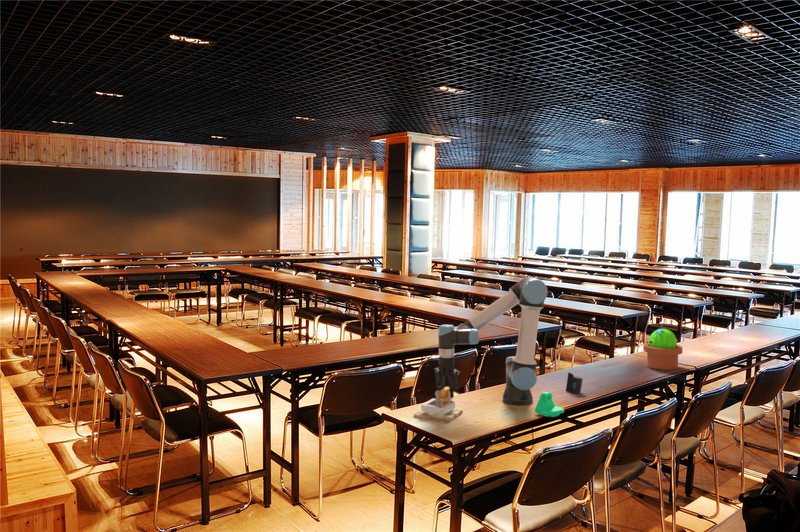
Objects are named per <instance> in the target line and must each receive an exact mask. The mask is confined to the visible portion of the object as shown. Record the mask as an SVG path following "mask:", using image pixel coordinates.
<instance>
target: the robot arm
mask: <svg viewBox="0 0 800 532" xmlns="http://www.w3.org/2000/svg"><path fill="white" fill-rule="evenodd" d="M547 296H548V287H547V285H546V284H545V282H544V281H542V280H541V279H539V278H537V277H533V276H526V277H524V278H522V279H520V280H519V281H518V282H516V283H515V284H514V285H513V286H511V287H510V288H509V290H508V292H506V293H505V294H504V295H502V296H500V297H499V298H498V299H496V300H495V301H493V302H491V304H490V305H488V306H487V307H485V308H484V309H482V310H481V311H480V312H478V313H477V314H475V315H474V316H472V317H471V318H469V319H468V320H466V321H465V322H464V323H460V324H459V325H458V326H457V328H455V325H453V324H446V323H445V324H441V325H439V327H438V356H439V357H438V367H435V368H433V372H434V377H435V387H436V389H438V390H439V391H441V389H443V388H445V384H446V383H445V382H446V378H447V381H448V387H449V388H450V391H449V392H448V398H449V401H453V398H454V395H455V392H456V390H458V387H459V375H460V373H461V371H460V370H457V368H455V367H456V366H455V357H454V356H455V345H478V344H479V343H480V340H479V339H480V334H479V331H481V330H482V329H484V328H485V327H486V326H488V325H489V324H491V323H492V322H495V320H497V319H498V318H499V317H501V316H503V315H504V314H505V313H506V312H509V310H511V309H512V308H514V307H516V306H517V305H519V306H520V307H521V310H520V311H521V314H520V322H519V328H518V329H519V330H518V337H517V345H516V346H517V347H516V354H515V356H513V355H512V356H508V357H506V359H505V389H504V392H503V394H502V402H503V401H504V402H503V403H506V404H507V403H508V404H507V405H514V406H528V405H530V404H532V403H533V401H534V399H533V394H532V391H531V390H532V388H534V387H535V385H536V384H537V380H538V376H537V373H536V371H537V361H536V359H535V355H536V354H535V352H536V344H537V337H538V336H537V335H538V329H539V318H540V312H541V310H542V309H544V305H545V300H546V299H547V298H548V297H547Z"/></svg>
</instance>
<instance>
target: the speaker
mask: <svg viewBox="0 0 800 532" xmlns="http://www.w3.org/2000/svg"><path fill="white" fill-rule="evenodd" d="M582 386H583V377H580V376H577V375H576V376H575V375H574V374H573V373H571V372H569V371H568V373H567V379H566V386H565V387H566V388H565V391H566V392H567V391H568V392H567V393H568V394H570V393H571V394H572V393H575V394H581V392H582Z"/></svg>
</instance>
